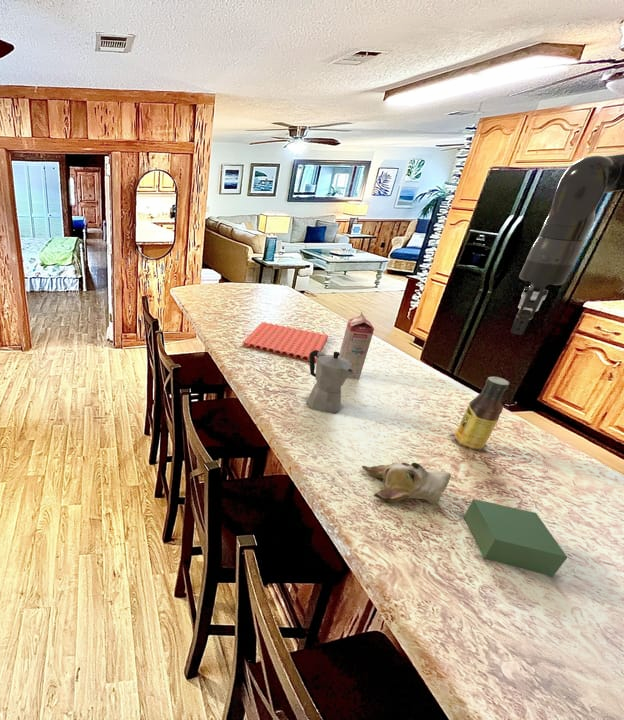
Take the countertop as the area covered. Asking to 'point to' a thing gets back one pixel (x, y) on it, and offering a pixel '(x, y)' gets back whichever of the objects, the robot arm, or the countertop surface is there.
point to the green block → (514, 537)
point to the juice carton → (356, 343)
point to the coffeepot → (328, 380)
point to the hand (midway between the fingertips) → (517, 329)
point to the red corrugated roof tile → (285, 341)
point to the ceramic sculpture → (409, 482)
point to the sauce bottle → (482, 415)
